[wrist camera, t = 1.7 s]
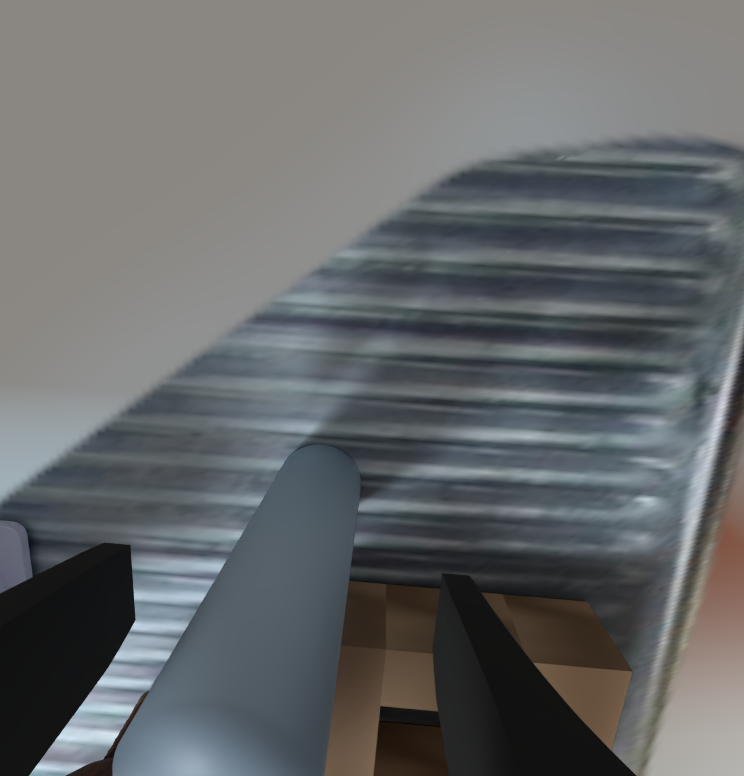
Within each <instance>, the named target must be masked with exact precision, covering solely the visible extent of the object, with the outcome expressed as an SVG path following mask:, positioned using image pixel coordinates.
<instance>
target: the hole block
mask: <svg viewBox="0 0 744 776" xmlns="http://www.w3.org/2000/svg"><path fill="white" fill-rule="evenodd" d="M481 593H482V594H483V596H484V597H485V598H486V600H487V601H488V603H489V604H490V606H491V607H492V609H493V610H494V611H495V613H496V614H497V616H498V617H499V618H500V620H501V621H502V622H503V624H504V625H505V627H506V628H507V629H508V631H509V632H510V633H511V635H512V636H513V637H514V639H515V640H516V641H517V643H518V644H519V645H520V646H521V648H522V649H523V650H524V652H525V653H526V654H527V656H528V657H529V658H530V659H531V661H532V662H533V663H534V664H535V666H536V667H537V668H538V669H539V671H540V672H541V673H542V674H543V676H544V677H545V678H546V679H547V680H548V682H549V683H550V684H551V685H552V686H553V688H554V689H555V690H556V691H557V692H558V693H559V695H560V696H561V697H562V698H563V699H564V701H565V702H566V703H567V704H568V705H569V706H570V707H571V708H572V710H573V711H574V712H575V713H576V714H577V715H578V716H579V717H580V718H581V720H582V721H583V722H584V723H585V724H586V725H587V726H588V727H589V728H590V729H591V730H592V731H593V732H594V733H595V734H596V735H597V736H598V737H599V738H600V739H601V740H602V742H603V743H604V744H605V745H606V746H607V747H608V748H609V749H610V750H612V746H613V742H614V738H615V735H616V731H617V727H618V724H619V720H620V716H621V713H622V709H623V705H624V702H625V698H626V694H627V691H628V687H629V683H630V680H631V676H632V672H633V671H632V670H631V668H630V667H629V665H628V664H627V662H626V661H625V659H624V658H623V656H622V654H621V653H620V651H619V650H618V648H617V647H616V645H615V644H614V642H613V641H612V639H611V638H610V636H609V634H608V633H607V631H606V630H605V628H604V627H603V625H602V624H601V622H600V621H599V619H598V617H597V616H596V614H595V613H594V611H593V610H592V608H591V607H590V605H589V604H588V602H586V601H574V600H563V599H551V598H540V597H528V596H517V595H505V594H494V593H483V592H481ZM439 594H440V589H437V588H425V587H414V586H403V585H391V584H380V583H368V582H357V581H349V585H348V593H347V601H346V609H345V616H344V624H343V632H342V640H341V648H340V656H339V664H338V672H337V680H336V688H335V696H334V703H333V711H332V719H331V727H330V735H329V743H328V751H327V759H326V767H325V775H324V776H449V773H448V767H447V761H446V755H445V750H444V744H443V738H442V732H441V727H432V726H421V725H410V724H400V723H389V722H379V715H380V706H386V707H397V708H408V709H418V710H429V711H438V708H437V702H436V692H435V679H434V664H433V649H432V647H433V640H434V632H435V625H436V617H437V610H438V602H439Z"/></svg>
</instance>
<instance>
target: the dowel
mask: <svg viewBox="0 0 744 776" xmlns="http://www.w3.org/2000/svg"><path fill="white" fill-rule="evenodd" d="M360 490H361V478H360V474H359V471H358V468H357V466H356V465H355V463H354V462H353V460H352V459H351V458H350V457H349V456H348V455H347V454H345V453H344V452H343V451H341V450H339V449H337V448H335V447H332V446H328V445H322V444H315V445H309V446H305V447H302V448H300V449H298V450H296V451H295V452H294V453H292V454H291V455H290V456H289V457H288V458H287V459H286V461H285V462H284V464H283V466H282V467H281V469H280V471H279V473H278V474H277V476H276V478H275V479H274V481H273V483H272V484H271V486H270V488H269V489H268V491H267V493H266V495H265V496H264V498H263V500H262V501H261V503H260V505H259V506H258V508H257V510H256V511H255V513H254V515H253V517H252V518H251V520H250V522H249V523H248V525H247V527H246V528H245V530H244V532H243V533H242V535H241V537H240V539H239V540H238V542H237V544H236V545H235V547H234V549H233V550H232V552H231V554H230V556H229V557H228V559H227V561H226V562H225V564H224V566H223V567H222V569H221V571H220V572H219V574H218V576H217V578H216V579H215V581H214V583H213V584H212V586H211V588H210V589H209V591H208V593H207V594H206V596H205V598H204V600H203V601H202V603H201V605H200V606H199V608H198V610H197V611H196V613H195V615H194V616H193V618H192V620H191V622H190V623H189V625H188V627H187V628H186V630H185V632H184V633H183V635H182V637H181V638H180V640H179V642H178V644H177V645H176V647H175V649H174V650H173V652H172V654H171V655H170V657H169V659H168V660H167V662H166V664H165V666H164V667H163V669H162V671H161V672H160V674H159V676H158V677H157V679H156V681H155V683H154V684H153V686H152V688H151V689H150V691H149V693H148V694H147V696H146V698H145V699H144V701H143V703H142V705H141V706H140V708H139V710H138V711H137V713H136V715H135V716H134V718H133V720H132V721H131V723H130V725H129V727H128V728H127V730H126V732H125V733H124V735H123V737H122V738H121V740H120V742H119V744H118V746H117V748H116V751H115V754H114V759H113V765H112V771H113V776H324V775H325V767H326V759H327V751H328V743H329V735H330V727H331V719H332V711H333V703H334V696H335V688H336V680H337V672H338V664H339V656H340V648H341V640H342V632H343V624H344V616H345V609H346V601H347V593H348V585H349V577H350V569H351V561H352V553H353V545H354V537H355V529H356V522H357V514H358V506H359V498H360Z"/></svg>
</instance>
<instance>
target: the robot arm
mask: <svg viewBox="0 0 744 776" xmlns="http://www.w3.org/2000/svg"><path fill="white" fill-rule="evenodd" d="M134 622H135V606H134V592H133V577H132V563H131V548H130V545H123V544H112V543H103V544H100V545H98V546H96V547H93V548H91V549H89V550H87V551H85V552H82V553H80V554H78V555H76V556H74V557H72V558H70V559H68V560H66V561H64V562H62V563H60V564H58V565H56V566H54V567H52V568H50V569H48V570H46V571H44V572H42V573H40V574H38V575H36V576H34V577H33V575H32V567H31V559H30V552H29V544H28V537H27V532H26V529H25V528H24V527H23V526H22V525H21V524H19V523H17V522H13V521H2V520H0V776H29V775H30V774H31V772H32V771H33V769H34V768H35V767H36V765H37V764H38V763H39V761H40V760H41V759H42V757H43V756H44V755H45V753H46V752H47V750H48V749H49V748H50V746H51V745H52V744H53V742H54V741H55V740H56V738H57V737H58V736H59V734H60V733H61V731H62V730H63V729H64V727H65V726H66V725H67V723H68V722H69V721H70V719H71V718H72V717H73V715H74V714H75V712H76V711H77V710H78V708H79V707H80V706H81V704H82V703H83V702H84V700H85V699H86V697H87V696H88V695H89V693H90V692H91V691H92V689H93V688H94V686H95V685H96V684H97V682H98V681H99V680H100V678H101V677H102V675H103V674H104V672H105V671H106V670H107V668H108V667H109V665H110V663H111V662H112V660H113V658H114V657H115V655H116V653H117V652H118V650H119V648H120V647H121V645H122V643H123V641H124V640H125V638H126V636H127V634H128V632H129V631H130V629H131V627H132V625H133V623H134ZM432 649H433V664H434V679H435V692H436V702H437V708H438V714H439V720H440V726H441V732H442V738H443V744H444V750H445V755H446V761H447V767H448V773H449V776H636V775H635V774H634V773H633V772H632V771H631V770H630V769H629V768H628V767H627V766H626V765H625V764H624V763H623V762H622V761H621V760H620V759H619V758H618V757H617V756H616V755H615V754H614V753H613V752H612V751H611V750H610V749H609V748H608V747H607V746H606V745H605V744H604V743H603V742H602V740H601V739H600V738H599V737H598V736H597V735H596V734H595V733H594V732H593V731H592V730H591V729H590V728H589V727H588V726H587V725H586V724H585V723H584V722H583V721H582V720H581V718H580V717H579V716H578V715H577V714H576V713H575V712H574V711H573V710H572V708H571V707H570V706H569V705H568V704H567V703H566V702H565V701H564V699H563V698H562V697H561V696H560V695H559V693H558V692H557V691H556V690H555V689H554V688H553V686H552V685H551V684H550V683H549V682H548V680H547V679H546V678H545V677H544V676H543V674H542V673H541V672H540V671H539V669H538V668H537V667H536V666H535V664H534V663H533V662H532V661H531V659H530V658H529V657H528V656H527V654H526V653H525V652H524V650H523V649H522V648H521V646H520V645H519V644H518V643H517V641H516V640H515V639H514V637H513V636H512V635H511V633H510V632H509V631H508V629H507V628H506V627H505V625H504V624H503V622H502V621H501V620H500V618H499V617H498V616H497V614H496V613H495V611H494V610H493V609H492V607H491V606H490V604H489V603H488V601H487V600H486V598H485V597H484V596H483V594H482V593H481V591H480V590H479V588H478V587H477V585H476V584H475V583H474V581H473V580H472V579H471V577H470V576H467V575H455V574H444V573H442V579H441V587H440V594H439V602H438V610H437V617H436V625H435V632H434V640H433V647H432Z"/></svg>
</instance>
